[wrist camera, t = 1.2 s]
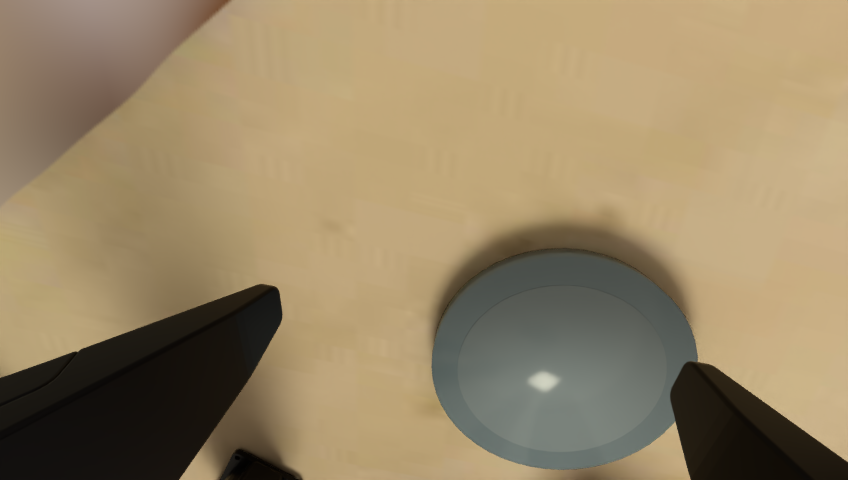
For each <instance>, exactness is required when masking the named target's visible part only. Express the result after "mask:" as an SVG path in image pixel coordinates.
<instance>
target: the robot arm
mask: <svg viewBox="0 0 848 480" xmlns="http://www.w3.org/2000/svg"><path fill="white" fill-rule="evenodd" d="M281 321H282V307H281V300H280V293H279V290H278V288H277V287H275V286H271V285H265V284H259V285H256V286H253V287H250V288H248V289H245V290H242V291H239V292H237V293H234V294H231V295H228V296H226V297H223V298H220V299H217V300H215V301H212V302H209V303H206V304H204V305H201V306H198V307H196V308H193V309H190V310H187V311H185V312H182V313H179V314H176V315H174V316H171V317H168V318H165V319H163V320H160V321H157V322H154V323H152V324H149V325H146V326H143V327H141V328H138V329H135V330H133V331H130V332H127V333H124V334H122V335H119V336H116V337H113V338H111V339H108V340H105V341H102V342H100V343H97V344H94V345H91V346H89V347H86V348H83V349H81V350H80V351H79V352H72V353H69V354H67V355H64V356H61V357H58V358H56V359H53V360H50V361H47V362H45V363H42V364H39V365H36V366H33V367H30V368H28V369H25V370H22V371H19V372H16V373H13V374H11V375H7V376H4V377H1V378H0V480H179V479H180V478H181V476H182V475H183V473H184V472H185V470H186V469H187V468H188V466H189V465H190V463H191V462H192V460H193V459H194V458H195V456H196V455H197V453H198V452H199V450H200V449H201V448H202V446H203V445H204V443H205V442H206V440H207V439H208V438H209V436H210V435H211V433H212V432H213V430H214V429H215V427H216V426H217V425H218V423H219V422H220V420H221V419H222V417H223V416H224V415H225V413H226V412H227V410H228V409H229V407H230V406H231V405H232V403H233V402H234V400H235V399H236V397H237V396H238V395H239V393H240V392H241V390H242V389H243V387H244V386H245V384H246V383H247V381H248V380H249V378H250V377H251V375H252V373H253V372H254V370H255V368H256V366H257V365H258V363H259V361H260V359H261V358H262V356H263V354H264V352H265V350H266V349H267V347H268V345H269V343H270V341H271V340H272V338H273V336H274V334H275V333H276V331H277V329H278V327H279V325H280V323H281ZM670 401H671V406H672V410H673V413H674V417H675V421H676V425H677V429H678V433H679V437H680V441H681V445H682V449H683V453H684V457H685V461H686V465H687V468H688V472H689V475H690V479H691V480H848V462H847V461H845V460H844V459H843V458H841V457H840V456H838V455H837V454H836V453H834V452H833V451H831V450H830V449H829V448H827V447H826V446H824V445H823V444H822V443H820V442H819V441H817V440H816V439H815V438H813V437H812V436H810V435H809V434H808V433H806V432H805V431H804V430H802V429H801V428H799V427H798V426H797V425H795V424H794V423H792V422H791V421H790V420H788V419H787V418H785V417H784V416H783V415H781V414H780V413H778V412H777V411H776V410H774V409H773V408H771V407H770V406H769V405H767V404H766V403H764V402H763V401H762V400H760V399H759V398H758V397H756V396H755V395H753V394H752V393H751V392H749V391H748V390H746V389H745V388H744V387H742V386H741V385H739V384H738V383H737V382H735V381H734V380H732V379H731V378H730V377H728V376H727V375H725V374H724V373H723V372H721V371H720V370H719V369H717V368H716V367H714V366H712V365H710V364H705V363H700V362H694V361H688V362H686V363H685V364H684V365H683V367H682V369H681V371H680V372H679V374H678V376H677V378H676V380H675V382H674V384H673V386H672V388H671V391H670ZM220 480H298V479H296V478H294V477H293V476H291V475H289V474H287V473H285V472H283V471H281V470H279V469H277V468H275V467H273V466H271V465H269V464H267V463H266V462H264V461H262V460H260V459H258V458H256V457H254V456H252V455H250V454H248V453H246V452H244V451H242V450H239V449H238V450H236V451H235V452H234V453H233V455H232V457H231V459H230V461H229V463H228V465H227V467H226V469H225V471H224V473H223V475H222V477H221V479H220Z"/></svg>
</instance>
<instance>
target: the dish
mask: <svg viewBox="0 0 848 480" xmlns="http://www.w3.org/2000/svg"><path fill="white" fill-rule="evenodd" d="M697 360H698V355H697V349H696V343H695V339H694V336H693V333H692V330H691V328H690V325H689V324H688V322H687V320H686V318H685V316H684V315H683V313H682V311H681V310H680V309H679V308H678V306H677V305H676V304H675V303H674V301H673V300H672V299H671V298H670V297H669V296H668V295H667V294H666V293H664V292H663V291H662V290H661V289H660V288H659V287H658V286H657V285H656V284H655V283H654V282H652V281H651V280H650V279H649V278H648V277H647V276H645V275H644V274H643V273H641V272H640V271H638V270H637V269H635V268H634V267H632V266H630V265H628V264H626V263H624V262H622V261H620V260H618V259H615V258H612V257H609V256H606V255H603V254H600V253H595V252H591V251H586V250H578V249H566V248H563V249H544V250H537V251H531V252H527V253H523V254H519V255H516V256H512V257H510V258H507V259H505V260H502V261H500V262H497V263H495V264H494V265H492V266H490V267H488V268H487V269H485V270H483V271H481V272H480V273H479V274H477V275H476V276H475V277H473V278H472V279H471V280H469V281H468V282H467V283H466V284H465V285H464V286H463V287H462V288H461V289H460V290H459V291H458V292H457V294H456V295H455V296H454V297H453V299H452V300H451V301H450V302H449V304H448V306H447V308H446V309H445V311H444V313H443V315H442V317H441V320H440V322H439V325H438V328H437V332H436V337H435V342H434V347H433V354H432V376H433V382H434V386H435V390H436V393H437V396H438V398H439V401H440V403H441V405H442V407H443V409H444V410H445V412H446V414H447V415H448V417H449V418H450V419H451V421H452V422H453V423H454V424H455V426H456V427H457V428H458V429H459V430H460V431H461V432H462V433H463V434H464V435H465V436H467V437H468V438H469V439H470V440H472V441H473V442H474V443H476V444H477V445H479V446H480V447H482V448H483V449H485V450H487V451H488V452H490V453H493V454H495V455H497V456H499V457H501V458H503V459H506V460H509V461H512V462H515V463H518V464H522V465H526V466H530V467H537V468H543V469H558V470H566V469H581V468H589V467H595V466H599V465H603V464H607V463H610V462H613V461H616V460H619V459H622V458H624V457H627V456H629V455H631V454H633V453H635V452H637V451H639V450H641V449H642V448H644V447H646V446H647V445H649V444H651V443H652V442H653V441H654V440H656V439H657V438H658V437H660V436H661V435H662V434H663V433H664V432H665V431H666V430H667V429H668V428H669V427H670V426H671V425H672V424H673V423H674V422H675V417H674V413H673V410H672V406H671V401H670V391H671V388H672V386H673V384H674V382H675V380H676V378H677V376H678V374H679V372H680V371H681V369H682V367H683V365H684V364H685V363H686V362H688V361H694V362H697Z"/></svg>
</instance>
